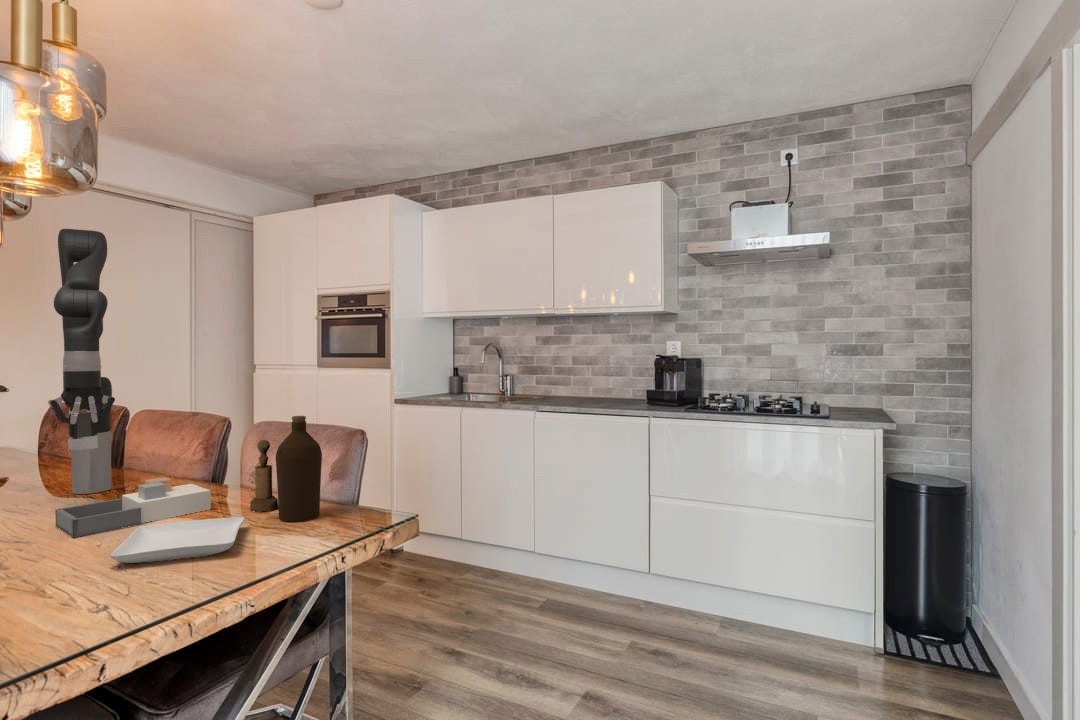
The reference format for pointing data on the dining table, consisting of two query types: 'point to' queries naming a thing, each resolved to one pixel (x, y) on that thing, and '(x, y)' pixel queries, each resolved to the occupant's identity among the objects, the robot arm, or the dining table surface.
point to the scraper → (83, 434)
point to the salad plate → (178, 540)
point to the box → (96, 518)
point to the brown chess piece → (263, 482)
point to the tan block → (161, 480)
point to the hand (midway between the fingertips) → (83, 437)
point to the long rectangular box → (170, 503)
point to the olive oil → (298, 474)
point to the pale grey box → (151, 491)
